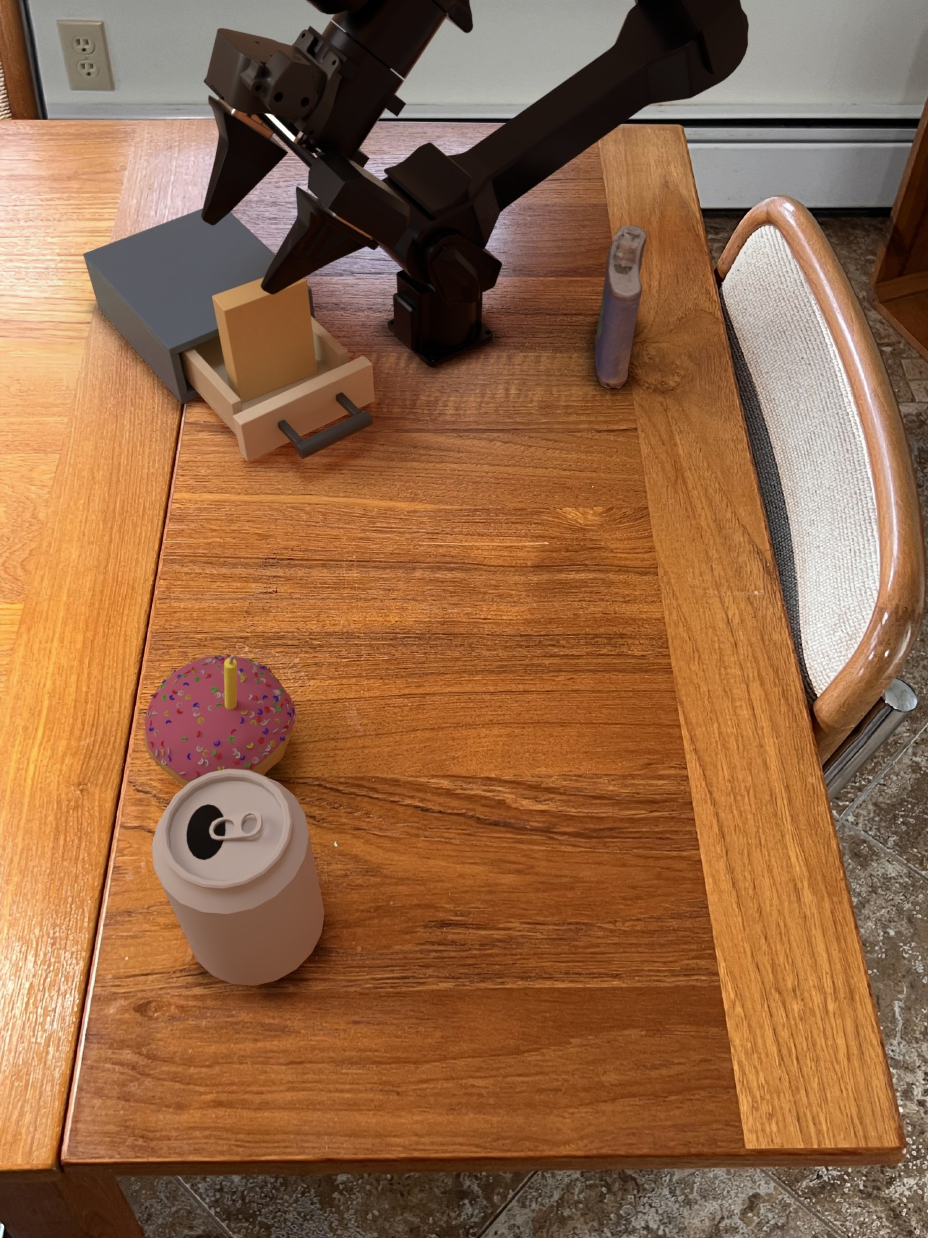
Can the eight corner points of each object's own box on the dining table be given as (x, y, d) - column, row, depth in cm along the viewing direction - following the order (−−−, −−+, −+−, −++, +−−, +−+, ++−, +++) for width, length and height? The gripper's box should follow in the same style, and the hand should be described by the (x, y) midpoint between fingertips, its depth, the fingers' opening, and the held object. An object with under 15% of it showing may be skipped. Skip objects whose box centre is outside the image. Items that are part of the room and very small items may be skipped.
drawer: (403, 428, 86) (402, 391, 83) (275, 492, 82) (268, 455, 79) (283, 311, 95) (278, 273, 92) (161, 363, 90) (151, 325, 88)
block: (305, 358, 89) (294, 265, 83) (317, 373, 88) (307, 280, 82) (229, 388, 87) (211, 295, 81) (241, 403, 86) (223, 310, 80)
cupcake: (323, 724, 72) (305, 605, 62) (265, 842, 67) (235, 733, 57) (198, 685, 73) (162, 564, 64) (133, 798, 68) (82, 684, 59)
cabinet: (318, 343, 94) (312, 288, 89) (181, 404, 89) (168, 349, 85) (229, 256, 100) (219, 201, 96) (98, 308, 96) (82, 253, 91)
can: (193, 866, 66) (150, 759, 56) (325, 857, 66) (305, 749, 57) (185, 997, 61) (137, 904, 52) (326, 986, 62) (305, 892, 52)
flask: (626, 391, 91) (645, 276, 82) (589, 387, 91) (603, 272, 82) (633, 318, 96) (651, 203, 88) (598, 314, 96) (612, 199, 88)
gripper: (207, -81, 71) (83, 137, 76) (355, 44, 62) (202, 284, 67) (330, 18, 80) (211, 207, 85) (476, 140, 71) (332, 345, 76)
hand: (235, 255), depth 78 cm, fingers open, 9 cm apart
